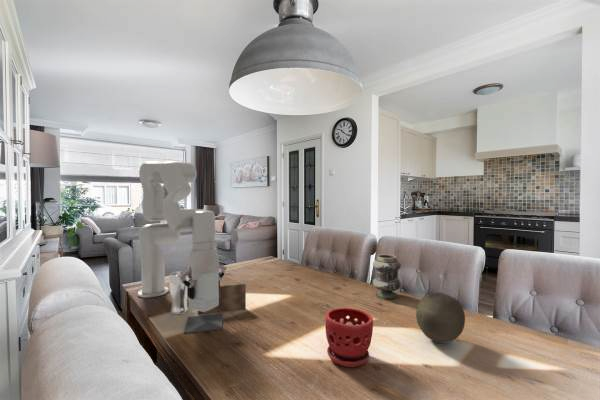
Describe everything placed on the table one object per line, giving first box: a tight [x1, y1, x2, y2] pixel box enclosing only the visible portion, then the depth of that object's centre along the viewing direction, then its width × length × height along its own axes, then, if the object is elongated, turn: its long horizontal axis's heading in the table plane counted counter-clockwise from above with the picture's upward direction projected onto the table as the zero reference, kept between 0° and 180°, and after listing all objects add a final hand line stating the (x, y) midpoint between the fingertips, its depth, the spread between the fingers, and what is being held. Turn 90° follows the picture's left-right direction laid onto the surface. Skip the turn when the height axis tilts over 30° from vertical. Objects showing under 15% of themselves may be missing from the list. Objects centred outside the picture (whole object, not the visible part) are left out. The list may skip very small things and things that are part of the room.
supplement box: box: [188, 270, 220, 312], centre depth 102 cm, size 7×7×13 cm
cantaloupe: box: [415, 292, 466, 344], centre depth 90 cm, size 14×14×15 cm
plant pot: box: [324, 307, 374, 368], centre depth 82 cm, size 13×13×12 cm
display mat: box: [183, 312, 223, 335], centre depth 103 cm, size 12×12×1 cm
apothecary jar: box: [372, 254, 402, 301], centre depth 131 cm, size 12×12×18 cm
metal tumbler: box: [168, 270, 189, 316], centre depth 113 cm, size 7×7×15 cm
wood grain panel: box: [197, 282, 247, 315], centre depth 113 cm, size 18×1×10 cm, turn 105°
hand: (204, 294), depth 102 cm, fingers closed on supplement box, 9 cm apart
